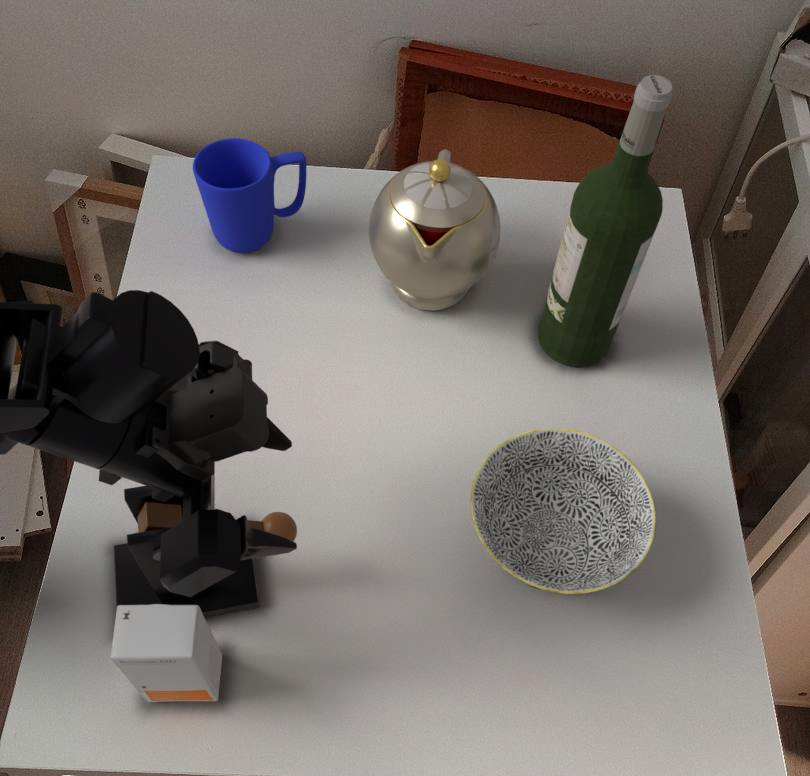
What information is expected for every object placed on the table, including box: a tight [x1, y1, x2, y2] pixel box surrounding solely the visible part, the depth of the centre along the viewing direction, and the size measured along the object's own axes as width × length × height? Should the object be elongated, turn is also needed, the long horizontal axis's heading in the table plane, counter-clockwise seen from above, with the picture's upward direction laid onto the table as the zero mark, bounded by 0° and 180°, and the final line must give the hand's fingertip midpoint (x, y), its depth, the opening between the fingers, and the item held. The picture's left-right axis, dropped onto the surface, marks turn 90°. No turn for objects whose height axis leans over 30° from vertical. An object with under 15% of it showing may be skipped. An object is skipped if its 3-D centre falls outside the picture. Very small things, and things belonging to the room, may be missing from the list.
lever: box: [137, 502, 298, 542], centre depth 67 cm, size 13×3×3 cm, turn 102°
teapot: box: [368, 148, 501, 311], centre depth 86 cm, size 18×14×16 cm
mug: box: [192, 137, 308, 254], centre depth 91 cm, size 8×12×10 cm
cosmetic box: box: [109, 604, 223, 703], centre depth 65 cm, size 6×4×12 cm
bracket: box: [113, 485, 261, 618], centre depth 69 cm, size 12×8×13 cm, turn 102°
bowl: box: [470, 427, 657, 595], centre depth 74 cm, size 16×16×8 cm
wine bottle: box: [537, 74, 673, 368], centre depth 76 cm, size 8×8×30 cm
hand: (291, 495), depth 65 cm, fingers open, 9 cm apart
